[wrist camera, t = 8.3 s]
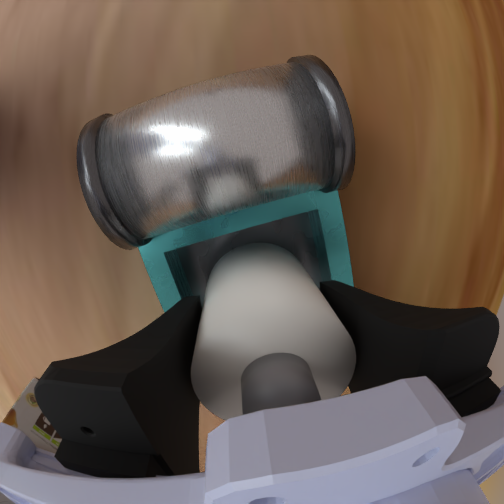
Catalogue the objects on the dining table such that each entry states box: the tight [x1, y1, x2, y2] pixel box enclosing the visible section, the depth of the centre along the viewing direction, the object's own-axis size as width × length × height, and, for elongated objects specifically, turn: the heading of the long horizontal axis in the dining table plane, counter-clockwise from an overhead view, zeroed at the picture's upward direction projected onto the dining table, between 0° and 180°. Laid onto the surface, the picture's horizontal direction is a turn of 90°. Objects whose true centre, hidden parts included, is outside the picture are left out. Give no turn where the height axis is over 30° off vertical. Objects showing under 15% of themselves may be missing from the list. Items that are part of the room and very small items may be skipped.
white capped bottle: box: [191, 243, 356, 420], centre depth 10 cm, size 5×5×7 cm
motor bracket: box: [77, 55, 355, 312], centre depth 11 cm, size 10×14×6 cm
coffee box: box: [0, 378, 62, 504], centre depth 10 cm, size 9×6×16 cm
